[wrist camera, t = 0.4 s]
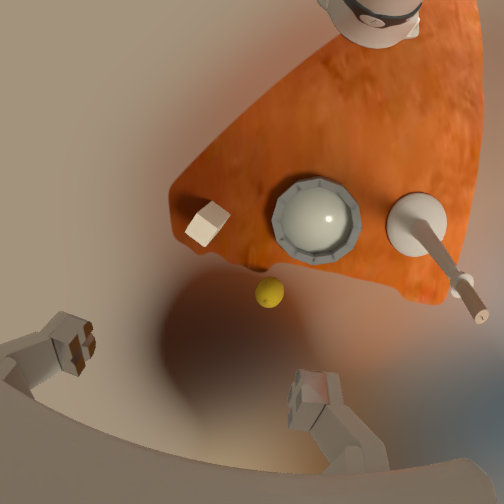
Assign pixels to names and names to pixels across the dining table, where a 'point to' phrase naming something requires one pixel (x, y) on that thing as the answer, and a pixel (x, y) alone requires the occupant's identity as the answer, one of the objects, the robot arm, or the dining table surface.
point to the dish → (316, 220)
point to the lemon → (269, 292)
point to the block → (207, 223)
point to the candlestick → (431, 244)
